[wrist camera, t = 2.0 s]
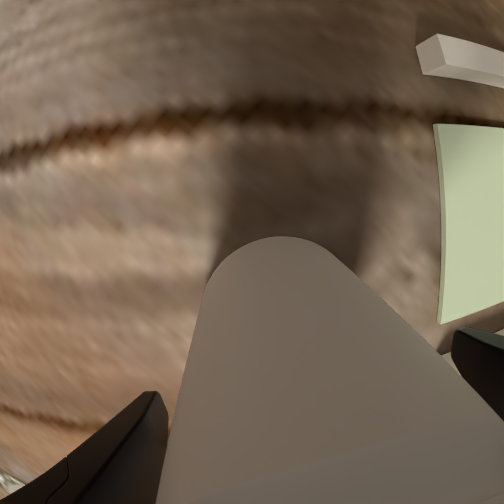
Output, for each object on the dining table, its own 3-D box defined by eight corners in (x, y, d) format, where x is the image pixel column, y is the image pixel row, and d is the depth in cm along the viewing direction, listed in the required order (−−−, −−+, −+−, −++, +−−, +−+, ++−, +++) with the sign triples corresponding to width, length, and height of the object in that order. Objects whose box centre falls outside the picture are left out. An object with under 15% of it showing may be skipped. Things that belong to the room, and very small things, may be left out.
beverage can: (273, 385, 15) (315, 623, 3) (172, 304, 13) (68, 589, 2) (373, 300, 14) (548, 501, 2) (280, 198, 12) (575, 410, 1)
